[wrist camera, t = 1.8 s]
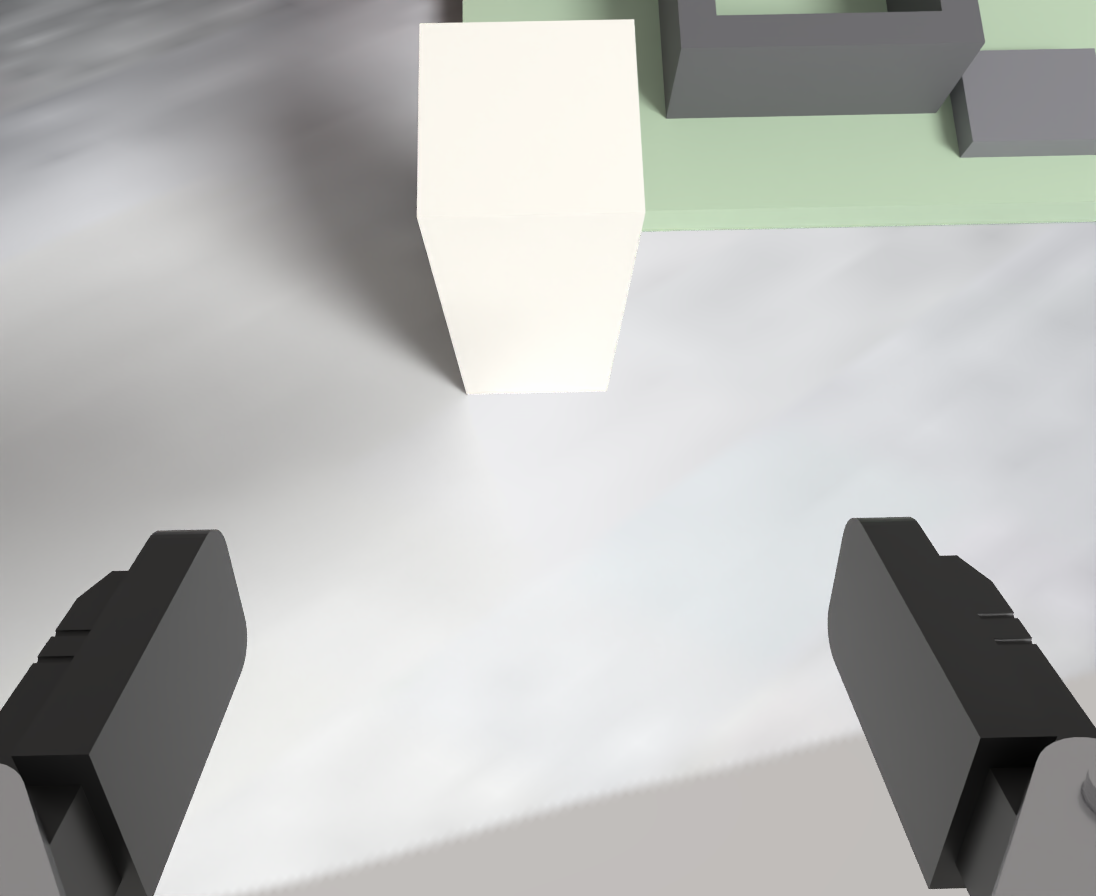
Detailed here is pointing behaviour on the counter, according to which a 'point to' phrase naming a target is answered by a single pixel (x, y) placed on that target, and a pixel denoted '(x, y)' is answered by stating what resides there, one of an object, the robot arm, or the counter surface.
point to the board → (855, 109)
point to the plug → (531, 196)
